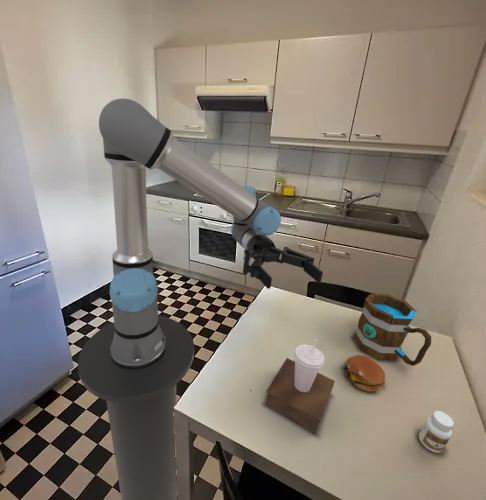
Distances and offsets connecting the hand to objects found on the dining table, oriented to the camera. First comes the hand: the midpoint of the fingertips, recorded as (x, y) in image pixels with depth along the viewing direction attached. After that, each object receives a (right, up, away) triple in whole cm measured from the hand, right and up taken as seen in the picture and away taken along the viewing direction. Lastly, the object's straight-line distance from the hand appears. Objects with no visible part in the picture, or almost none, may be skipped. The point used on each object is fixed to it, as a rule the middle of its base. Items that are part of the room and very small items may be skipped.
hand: (296, 280), depth 65 cm
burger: (+21, -28, +10) cm, 36 cm away
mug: (+32, -24, +20) cm, 45 cm away
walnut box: (+1, -29, +3) cm, 30 cm away
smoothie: (+2, -25, +1) cm, 25 cm away
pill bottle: (+28, -35, -5) cm, 45 cm away
